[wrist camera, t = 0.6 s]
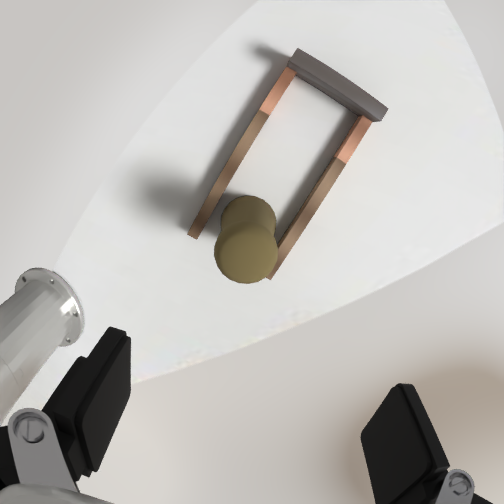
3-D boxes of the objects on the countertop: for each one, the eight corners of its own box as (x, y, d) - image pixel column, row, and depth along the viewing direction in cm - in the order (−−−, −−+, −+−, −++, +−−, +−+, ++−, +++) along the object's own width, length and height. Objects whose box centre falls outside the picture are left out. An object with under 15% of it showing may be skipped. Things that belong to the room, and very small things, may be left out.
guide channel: (270, 274, 37) (271, 290, 33) (189, 230, 35) (182, 241, 32) (374, 111, 30) (388, 108, 27) (292, 57, 29) (297, 47, 25)
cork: (209, 220, 35) (190, 255, 25) (251, 184, 34) (249, 204, 23) (245, 259, 36) (241, 308, 26) (287, 226, 35) (300, 263, 25)
